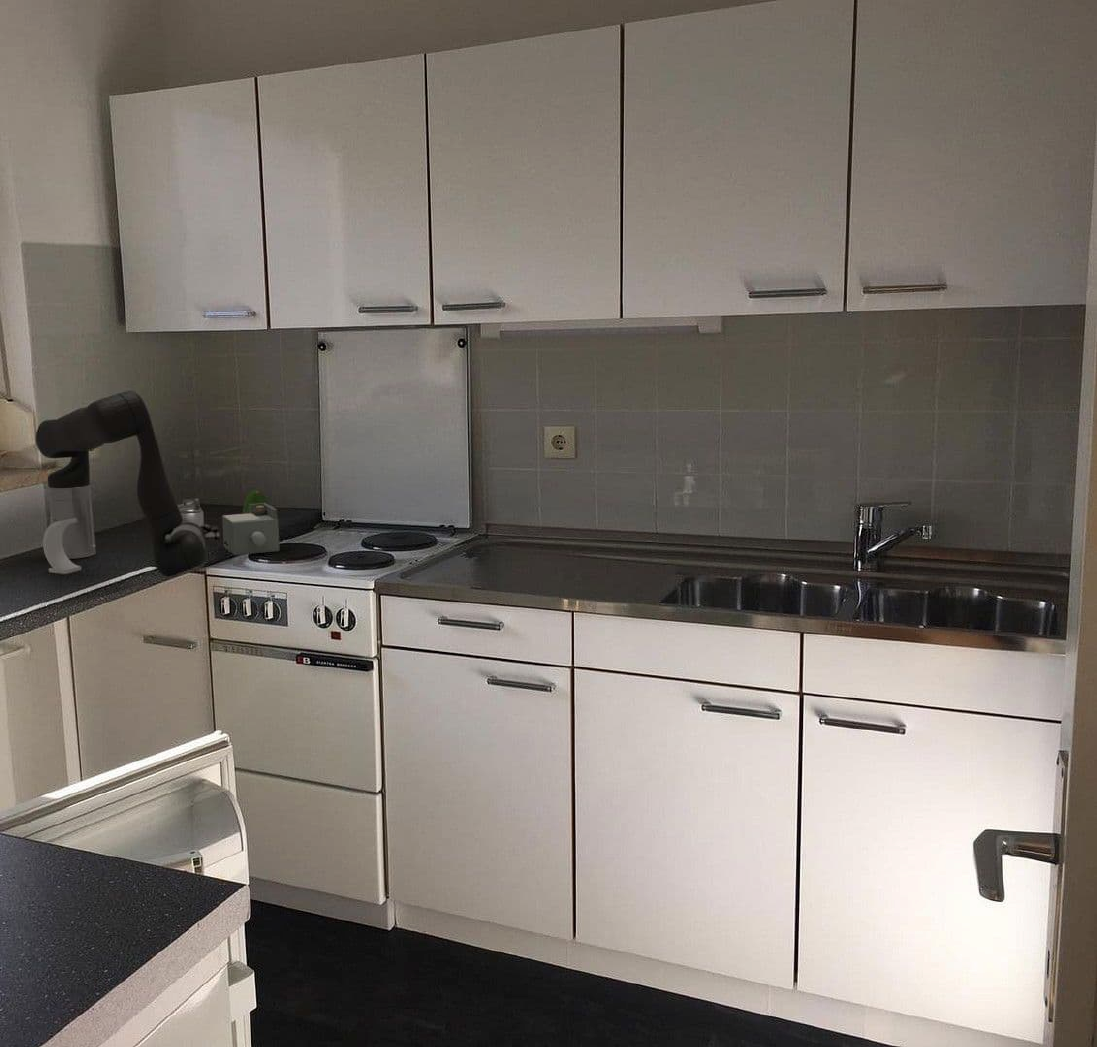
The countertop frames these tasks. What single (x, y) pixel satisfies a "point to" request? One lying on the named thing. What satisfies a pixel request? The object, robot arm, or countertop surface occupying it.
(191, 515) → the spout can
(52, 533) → the headphone stand
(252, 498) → the avocado
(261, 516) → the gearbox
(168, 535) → the robot arm
